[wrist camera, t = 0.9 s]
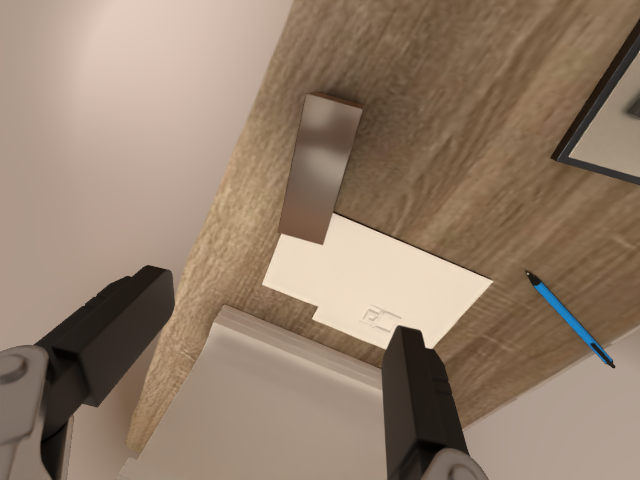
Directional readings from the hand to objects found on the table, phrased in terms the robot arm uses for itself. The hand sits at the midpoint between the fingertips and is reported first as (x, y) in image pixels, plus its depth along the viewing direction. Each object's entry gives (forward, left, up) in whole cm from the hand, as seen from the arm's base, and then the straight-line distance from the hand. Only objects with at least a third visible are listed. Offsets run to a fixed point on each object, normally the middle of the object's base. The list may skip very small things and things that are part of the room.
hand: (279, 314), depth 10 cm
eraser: (0, -1, -22) cm, 22 cm away
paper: (+14, +8, -22) cm, 28 cm away
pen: (+10, +32, -22) cm, 40 cm away
